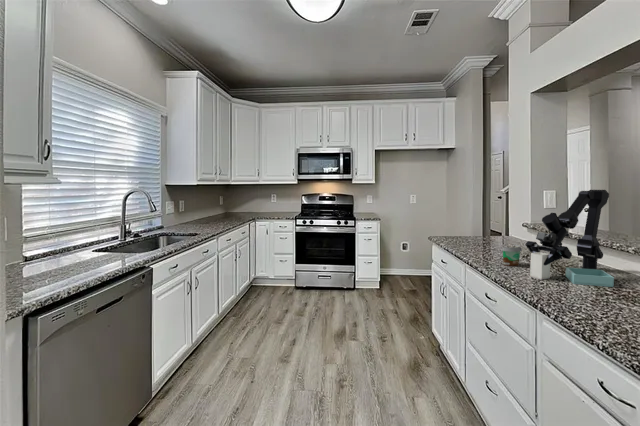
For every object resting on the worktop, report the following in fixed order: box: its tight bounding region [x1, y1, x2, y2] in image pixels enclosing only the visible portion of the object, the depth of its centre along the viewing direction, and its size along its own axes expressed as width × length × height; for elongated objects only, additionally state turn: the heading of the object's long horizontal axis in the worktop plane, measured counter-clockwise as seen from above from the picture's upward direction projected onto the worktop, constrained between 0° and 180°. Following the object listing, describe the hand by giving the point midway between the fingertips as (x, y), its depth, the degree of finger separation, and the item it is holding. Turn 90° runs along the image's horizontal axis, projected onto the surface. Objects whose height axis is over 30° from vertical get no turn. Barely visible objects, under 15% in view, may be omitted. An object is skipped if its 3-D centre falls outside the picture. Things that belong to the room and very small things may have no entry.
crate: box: [565, 267, 615, 288], centre depth 152 cm, size 14×14×4 cm
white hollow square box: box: [529, 251, 551, 281], centre depth 159 cm, size 5×5×11 cm
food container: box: [502, 244, 523, 267], centre depth 183 cm, size 12×6×10 cm, turn 123°
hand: (538, 263), depth 158 cm, fingers closed on white hollow square box, 5 cm apart
